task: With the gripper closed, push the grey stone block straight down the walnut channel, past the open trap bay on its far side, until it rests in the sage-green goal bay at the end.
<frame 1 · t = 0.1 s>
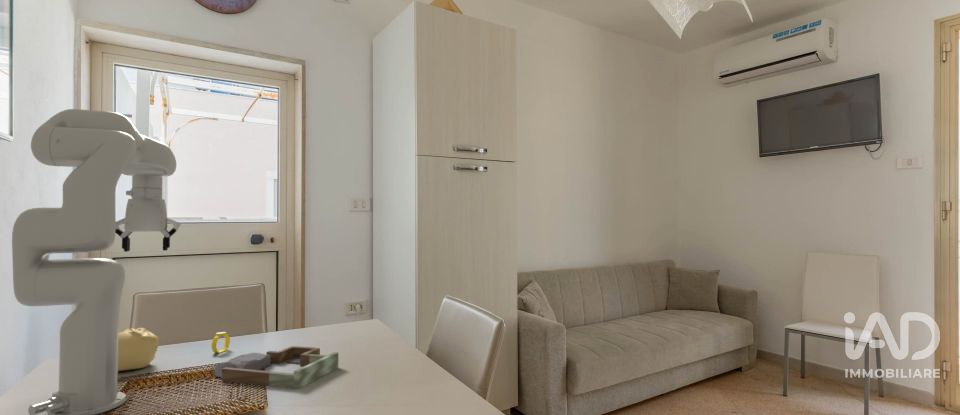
hand: (146, 250, 139), 31 cm above the table, tool pointing down, fingers open, 9 cm apart
stone block: (241, 372, 121), on the table
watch: (220, 352, 139), on the table
trap pit pad: (297, 361, 129), resting in channel
channel: (282, 373, 118), on the table
sculpture: (130, 369, 124), on the table
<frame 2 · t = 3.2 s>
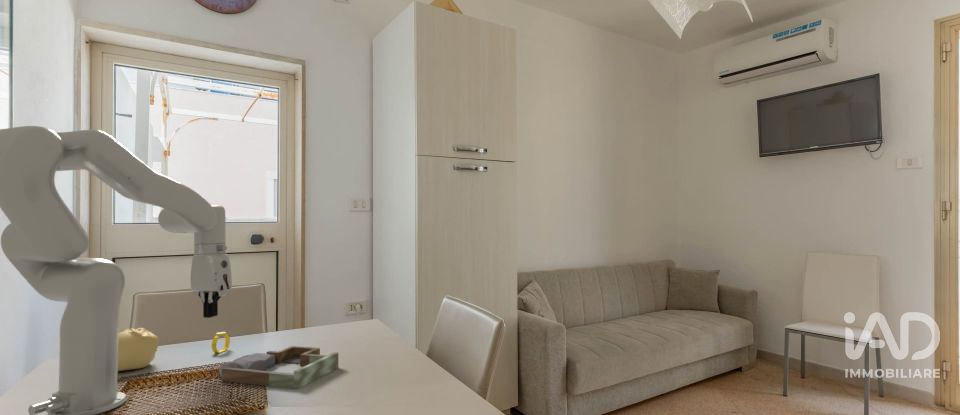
hand: (210, 316, 125), 14 cm above the table, tool pointing down, fingers closed
stone block: (246, 372, 121), on the table
everything else where it was.
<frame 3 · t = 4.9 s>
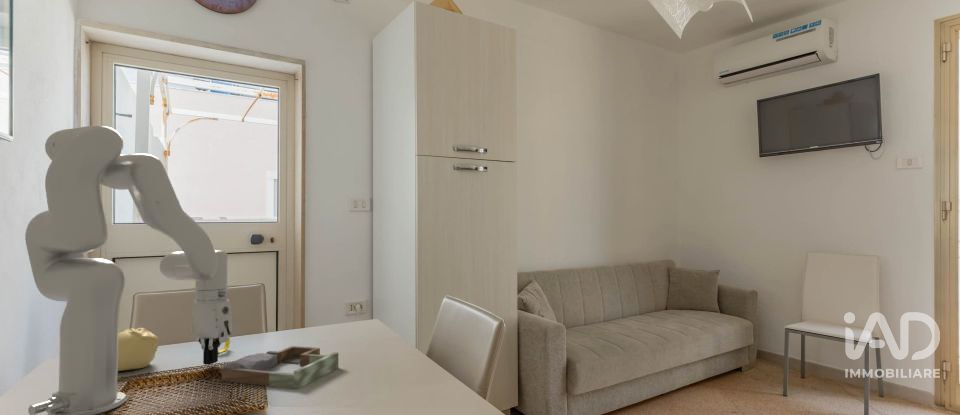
hand: (210, 363, 124), 1 cm above the table, tool pointing down, fingers closed
nothing on the table moved.
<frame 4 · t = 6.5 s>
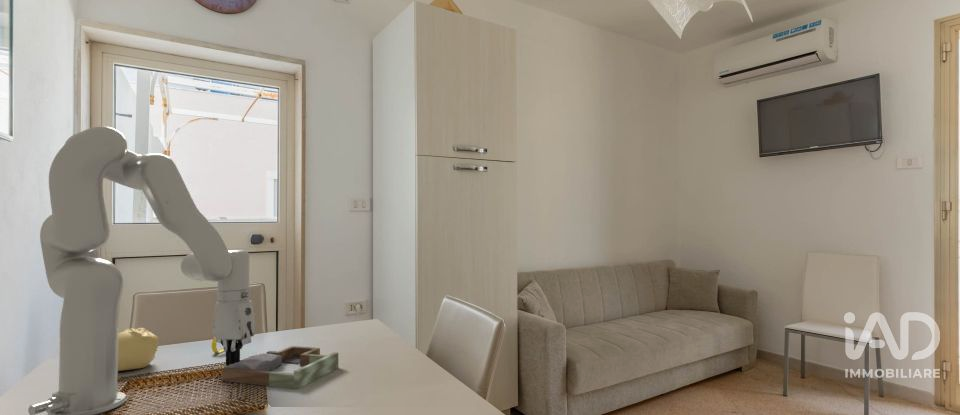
hand: (232, 364, 122), 1 cm above the table, tool pointing down, fingers closed
stone block: (253, 372, 120), on the table, touching gripper
everything else where it was.
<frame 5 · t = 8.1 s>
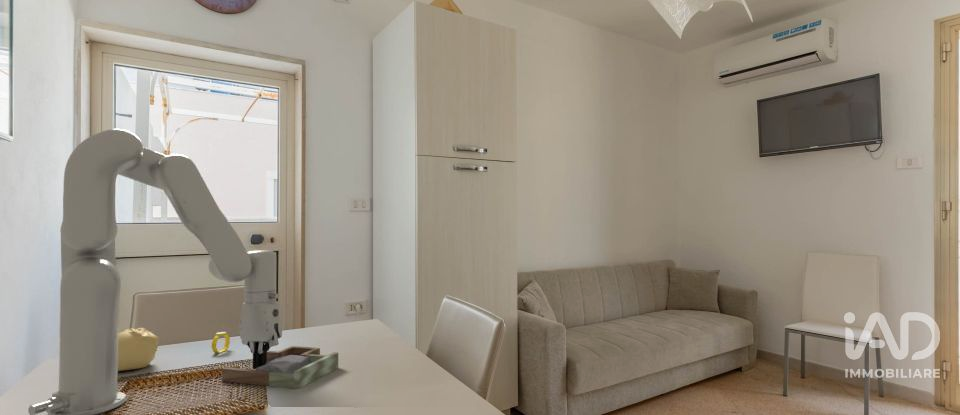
hand: (259, 367, 120), 1 cm above the table, tool pointing down, fingers closed
stone block: (281, 375, 118), on the table
everything else where it was.
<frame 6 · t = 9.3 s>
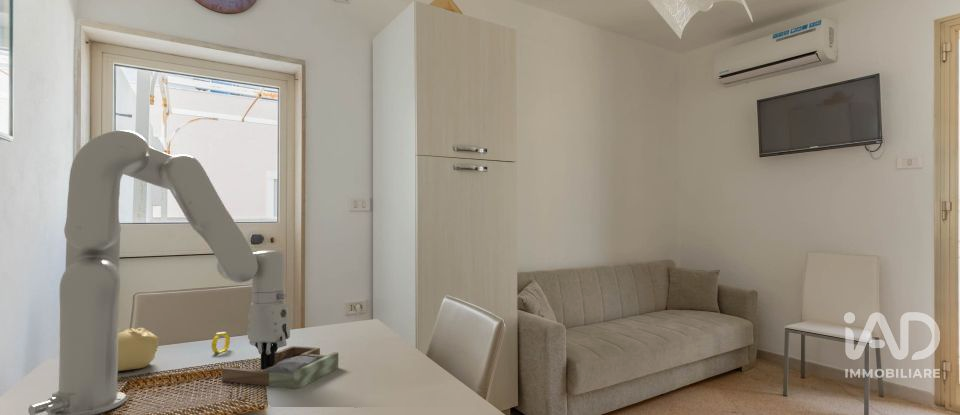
hand: (267, 368, 119), 1 cm above the table, tool pointing down, fingers closed
stone block: (290, 375, 118), on the table
everything else where it was.
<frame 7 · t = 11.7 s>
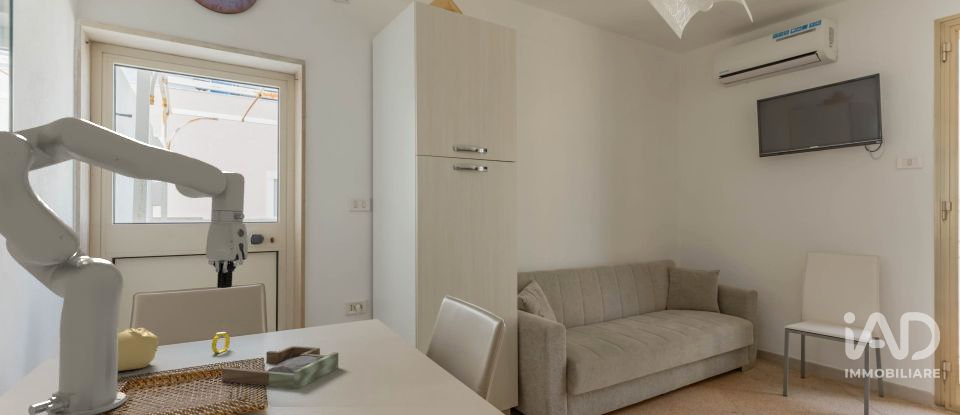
hand: (224, 287, 121), 22 cm above the table, tool pointing down, fingers closed
nothing on the table moved.
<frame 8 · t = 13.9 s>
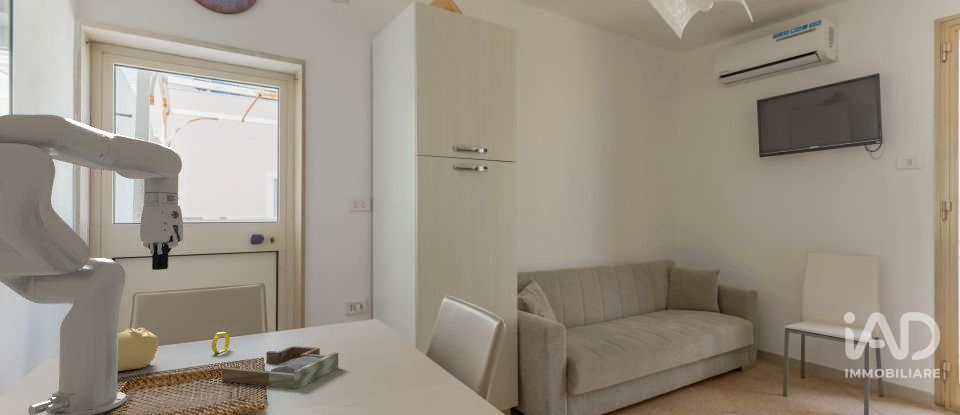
hand: (160, 269, 121), 27 cm above the table, tool pointing down, fingers closed
at the end: stone block inside the target area (0.6 cm from its centre), on the table; stone block tilted 0° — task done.
